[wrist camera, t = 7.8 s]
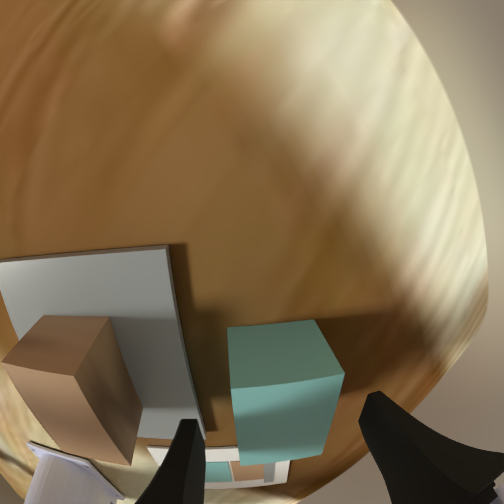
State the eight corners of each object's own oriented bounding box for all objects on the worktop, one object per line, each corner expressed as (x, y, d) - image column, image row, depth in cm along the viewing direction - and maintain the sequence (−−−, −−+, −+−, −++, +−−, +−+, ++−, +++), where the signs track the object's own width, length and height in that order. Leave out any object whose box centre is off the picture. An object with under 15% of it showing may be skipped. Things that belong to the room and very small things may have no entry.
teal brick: (303, 401, 14) (321, 454, 10) (234, 409, 14) (240, 465, 10) (313, 318, 12) (344, 373, 9) (226, 325, 12) (230, 388, 8)
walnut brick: (143, 407, 12) (130, 465, 9) (83, 401, 12) (63, 451, 8) (109, 316, 11) (73, 376, 7) (43, 314, 10) (1, 362, 6)
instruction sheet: (285, 480, 18) (286, 483, 17) (174, 486, 17) (174, 488, 17) (292, 439, 15) (292, 442, 15) (147, 445, 14) (146, 448, 14)
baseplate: (206, 432, 14) (206, 439, 14) (70, 419, 13) (68, 425, 13) (168, 244, 11) (165, 249, 10) (-1, 259, 10) (-8, 263, 9)
